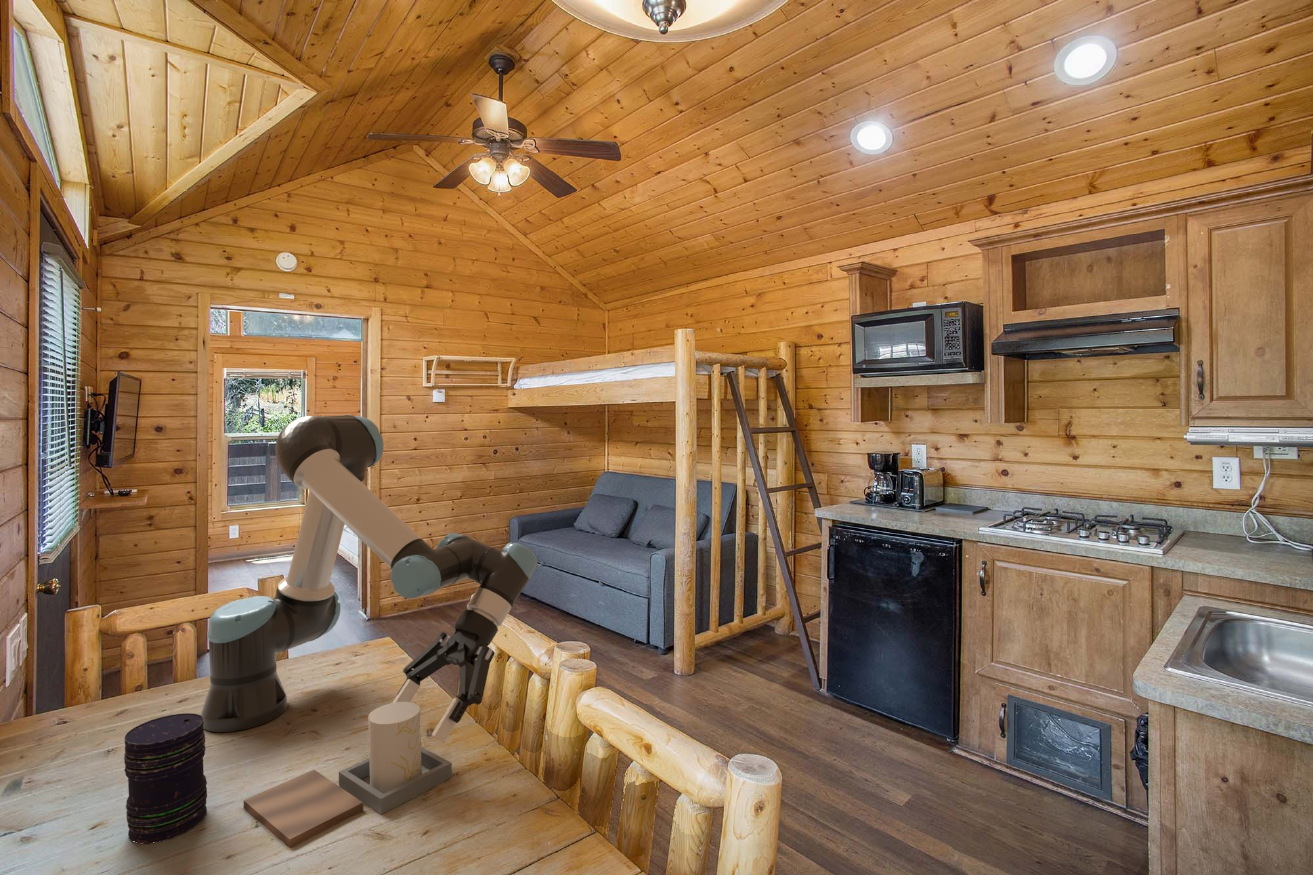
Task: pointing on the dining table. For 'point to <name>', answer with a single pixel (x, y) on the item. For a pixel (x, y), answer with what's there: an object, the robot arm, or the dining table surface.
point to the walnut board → (302, 807)
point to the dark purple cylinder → (165, 777)
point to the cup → (394, 745)
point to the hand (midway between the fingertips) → (413, 727)
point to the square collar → (393, 798)
